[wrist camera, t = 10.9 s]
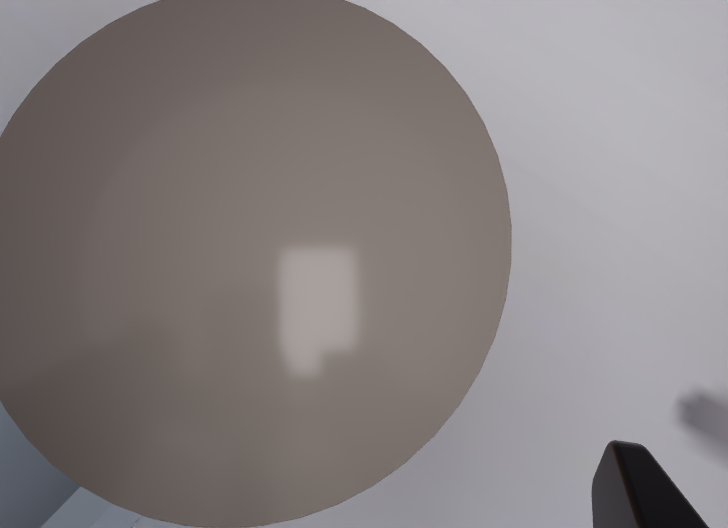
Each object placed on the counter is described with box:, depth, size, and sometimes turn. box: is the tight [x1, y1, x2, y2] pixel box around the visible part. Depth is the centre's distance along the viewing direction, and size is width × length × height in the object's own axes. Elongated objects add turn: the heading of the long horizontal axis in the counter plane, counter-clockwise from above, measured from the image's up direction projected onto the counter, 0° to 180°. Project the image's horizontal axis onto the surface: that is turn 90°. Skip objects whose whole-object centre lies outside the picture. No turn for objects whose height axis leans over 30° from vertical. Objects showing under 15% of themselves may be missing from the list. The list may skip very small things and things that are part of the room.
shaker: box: [0, 0, 512, 528], centre depth 12 cm, size 5×5×12 cm
